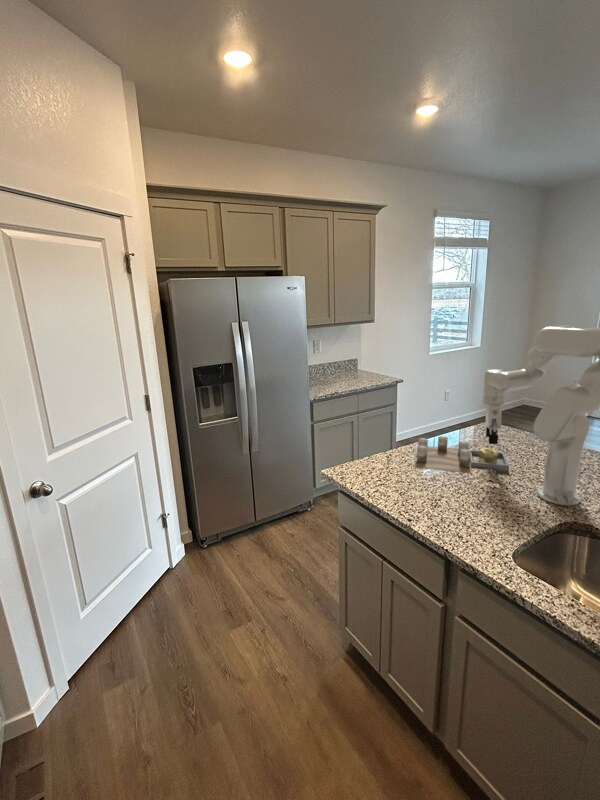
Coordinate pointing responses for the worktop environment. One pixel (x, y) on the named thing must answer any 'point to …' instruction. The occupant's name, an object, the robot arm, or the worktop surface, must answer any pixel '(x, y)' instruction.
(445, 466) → the board
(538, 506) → the worktop surface
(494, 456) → the faceted yellow gem
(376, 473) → the worktop surface
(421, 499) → the worktop surface
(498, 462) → the tray
